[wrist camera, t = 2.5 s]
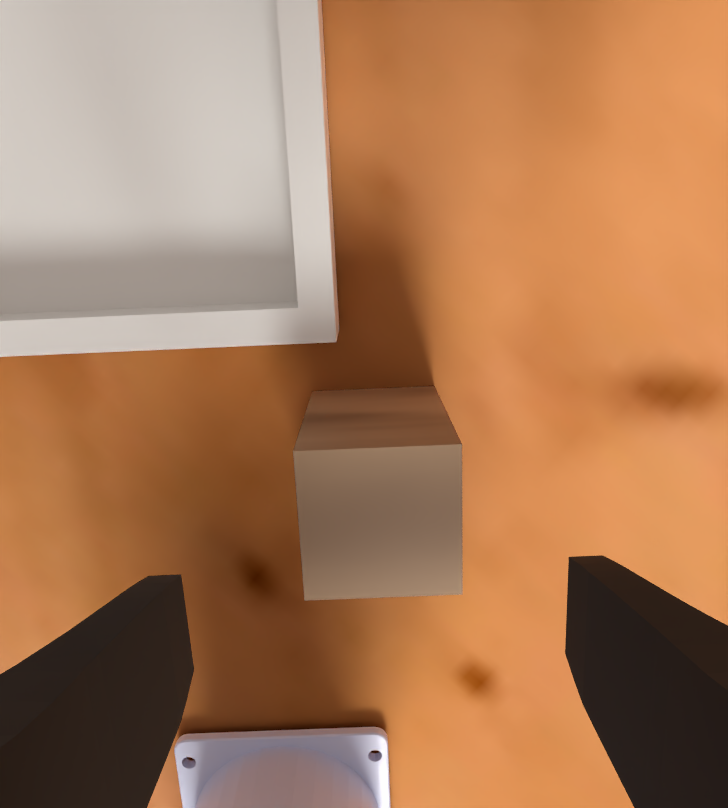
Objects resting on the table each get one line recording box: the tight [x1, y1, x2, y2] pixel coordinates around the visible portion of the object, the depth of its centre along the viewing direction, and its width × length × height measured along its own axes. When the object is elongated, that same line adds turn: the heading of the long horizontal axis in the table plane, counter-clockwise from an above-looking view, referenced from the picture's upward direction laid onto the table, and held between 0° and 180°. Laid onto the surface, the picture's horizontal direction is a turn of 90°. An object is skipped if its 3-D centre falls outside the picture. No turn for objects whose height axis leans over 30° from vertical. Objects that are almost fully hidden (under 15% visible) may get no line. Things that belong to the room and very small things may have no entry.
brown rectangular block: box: [293, 386, 462, 601], centre depth 18 cm, size 4×4×6 cm
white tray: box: [0, 0, 339, 357], centre depth 17 cm, size 14×14×2 cm
